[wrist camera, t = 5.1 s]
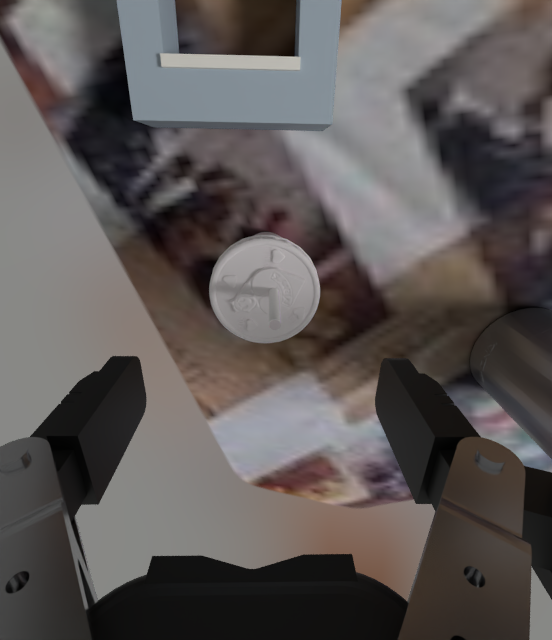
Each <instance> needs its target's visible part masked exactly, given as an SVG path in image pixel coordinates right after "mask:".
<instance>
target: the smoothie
mask: <svg viewBox="0 0 552 640" xmlns="http://www.w3.org/2000/svg"><path fill="white" fill-rule="evenodd" d="M209 296H210V302H211V305H212V308H213V311H214V313H215V315H216V317H217V318H218V320H219V321H220V322H221V323H222V325H223V326H224V327H225V328H226V329H227V330H229V331H230V332H231V333H233V334H234V335H236V336H238V337H240V338H242V339H244V340H247V341H251V342H255V343H275V342H280V341H283V340H286V339H288V338H290V337H292V336H294V335H296V334H297V333H299V332H300V331H301V330H303V329H304V328H305V327H306V326H307V325H308V323H309V322H310V321H311V319H312V318H313V316H314V314H315V312H316V310H317V307H318V304H319V299H320V284H319V279H318V275H317V270H316V268H315V266H314V264H313V262H312V260H311V258H310V257H309V256H308V255H307V254H306V253H305V252H304V251H303V250H302V249H301V247H299V246H297V245H296V244H294V243H293V242H291V241H289V240H288V239H284V238H281V237H280V236H279V235H277V234H275V233H272V232H261V233H258V234H256V235H254V236H251V237H247V238H243V239H241V240H240V241H238V242H236V243H234V244H233V245H231V246H230V247H229V248H228V249H227V250H226V251H225V252H224V253H223V254H222V255H221V256H220V257H219V259H218V261H217V263H216V264H215V266H214V268H213V272H212V276H211V279H210V286H209Z"/></svg>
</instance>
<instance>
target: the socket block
mask: <svg viewBox="0 0 552 640" xmlns="http://www.w3.org/2000/svg"><path fill="white" fill-rule="evenodd" d="M117 7H118V14H119V21H120V29H121V36H122V43H123V50H124V58H125V65H126V72H127V79H128V86H129V94H130V101H131V108H132V115H133V120H134V121H137V122H140V123H143V124H146V125H149V126H152V127H158V128H207V129H255V130H304V131H323V130H325V129H326V128H328V127H329V126H330V125H332V120H333V107H334V94H335V80H336V67H337V54H338V40H339V27H340V14H341V0H296V26H295V57H288V56H248V55H209V54H179V45H178V33H177V21H176V9H175V0H117Z"/></svg>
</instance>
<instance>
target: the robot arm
mask: <svg viewBox="0 0 552 640" xmlns="http://www.w3.org/2000/svg"><path fill="white" fill-rule="evenodd" d="M470 369H471V372H472V375H473V377H474V378H475V380H476V381H477V382H478V383H479V384H480V385H481V386H482V387H483V388H484V389H485V391H486V392H487V393H488V394H489V395H490V396H491V397H492V398H493V399H494V400H495V401H496V402H497V403H498V404H499V405H500V406H501V407H502V408H503V409H504V410H505V411H506V413H507V414H508V415H509V416H510V417H511V418H512V419H513V420H514V421H515V422H516V423H517V424H518V425H519V426H520V427H521V428H522V429H523V430H524V431H525V432H526V433H527V434H528V435H529V436H530V437H531V438H532V439H533V440H534V441H535V442H536V443H537V444H538V445H539V447H540V448H541V449H542V450H543V451H544V452H545V453H546V454H547V455H548V456H549V457H550V458H551V459H552V310H548V309H544V308H526V309H520V310H517V311H514V312H511V313H508V314H507V315H505V316H503V317H501V318H499V319H498V320H496V321H495V322H494V323H492V324H491V325H490V326H488V327H487V329H486V330H485V331H484V332H483V333H482V334H481V335H480V337H479V338H478V340H477V341H476V343H475V345H474V347H473V349H472V352H471V357H470ZM375 407H376V412H377V416H378V418H379V420H380V423H381V425H382V427H383V430H384V432H385V434H386V436H387V439H388V441H389V443H390V446H391V448H392V450H393V452H394V455H395V457H396V459H397V462H398V464H399V466H400V468H401V471H402V473H403V475H404V478H405V480H406V482H407V484H408V487H409V489H410V491H411V494H412V496H413V498H414V501H415V503H416V504H432V505H433V507H434V510H435V515H434V518H433V521H432V524H431V528H430V531H429V534H428V537H427V541H426V544H425V547H424V550H423V553H422V557H421V559H420V563H419V566H418V569H417V573H416V575H415V579H414V582H413V585H412V588H411V591H410V594H409V597H408V601H406V600H405V599H404V598H402V597H401V596H400V595H399V594H397V593H396V592H395V591H393V590H392V589H390V588H389V587H388V586H386V585H384V584H382V583H381V582H378V581H377V580H375V579H373V578H371V577H368V576H366V575H364V574H360V573H357V572H356V571H355V566H354V561H353V557H352V554H324V555H322V554H321V555H301V556H298V557H294V558H291V559H288V560H284V561H281V562H278V563H275V564H271V565H268V566H265V567H261V568H258V569H246V568H243V567H240V566H236V565H233V564H229V563H226V562H222V561H218V560H215V559H212V558H208V557H204V556H152V559H151V563H150V566H149V569H148V573H147V575H144V576H141V577H139V578H136V579H134V580H132V581H129V582H127V583H125V584H123V585H122V586H120V587H118V588H116V589H114V590H113V591H111V592H110V593H109V594H107V595H105V596H104V597H102V598H101V599H100V600H98V598H97V595H96V592H95V589H94V585H93V582H92V578H91V574H90V571H89V566H88V562H87V559H86V555H85V551H84V547H83V544H82V540H81V536H80V532H79V528H78V524H77V521H76V518H75V515H76V513H77V511H78V509H79V507H80V506H81V505H82V504H84V505H85V504H99V502H100V500H101V498H102V496H103V494H104V492H105V490H106V488H107V486H108V484H109V482H110V481H111V479H112V476H113V475H114V473H115V470H116V469H117V466H118V465H119V463H120V461H121V459H122V457H123V455H124V452H125V451H126V449H127V447H128V445H129V443H130V441H131V439H132V437H133V435H134V433H135V431H136V429H137V427H138V425H139V423H140V421H141V419H142V417H143V415H144V412H145V408H146V392H145V386H144V380H143V375H142V369H141V364H140V360H139V358H138V357H136V356H113V357H111V358H110V359H109V360H108V361H107V363H106V364H105V365H104V366H103V367H102V369H101V370H100V371H99V372H98V371H94V372H93V373H91V374H90V375H88V376H86V377H85V378H83V379H82V380H80V381H79V382H78V383H77V384H76V385H75V386H74V388H73V389H72V390H71V391H70V392H69V394H68V395H66V397H65V398H64V399H63V400H62V401H61V404H59V405H58V406H57V407H56V408H55V409H54V410H53V411H52V412H51V414H50V415H49V416H48V417H47V418H46V419H45V420H44V422H43V423H42V424H41V425H40V426H39V427H38V428H37V429H36V431H35V432H34V433H33V434H32V435H31V436H30V437H28V438H22V439H18V440H15V441H12V442H9V443H7V444H5V445H3V446H1V447H0V640H529V632H530V631H529V630H530V595H531V566H532V568H533V569H534V571H535V573H536V574H537V576H538V578H539V579H540V581H541V583H542V584H543V586H544V588H545V589H546V591H547V593H548V594H549V596H550V598H551V599H552V473H551V472H547V471H543V470H539V469H534V468H530V467H526V466H524V465H523V464H522V462H521V461H520V459H519V458H518V457H517V456H516V455H515V454H514V453H513V452H511V451H510V450H509V449H507V448H506V447H504V446H503V445H501V444H499V443H497V442H494V441H492V440H489V439H486V438H481V437H480V436H479V434H478V433H477V432H476V430H475V429H474V428H473V427H472V425H471V424H470V423H469V422H468V420H467V419H466V418H465V416H464V415H463V414H462V413H461V411H460V410H459V409H458V407H457V406H454V402H453V401H452V400H451V399H450V397H449V396H447V393H446V392H445V391H444V390H443V388H442V387H441V386H440V384H439V383H438V382H436V381H435V380H433V379H432V378H430V377H429V376H427V375H426V374H419V373H418V371H417V370H416V368H415V367H414V366H413V364H412V363H411V362H410V360H409V359H407V358H385V359H383V361H382V363H381V368H380V374H379V379H378V385H377V391H376V397H375Z"/></svg>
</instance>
